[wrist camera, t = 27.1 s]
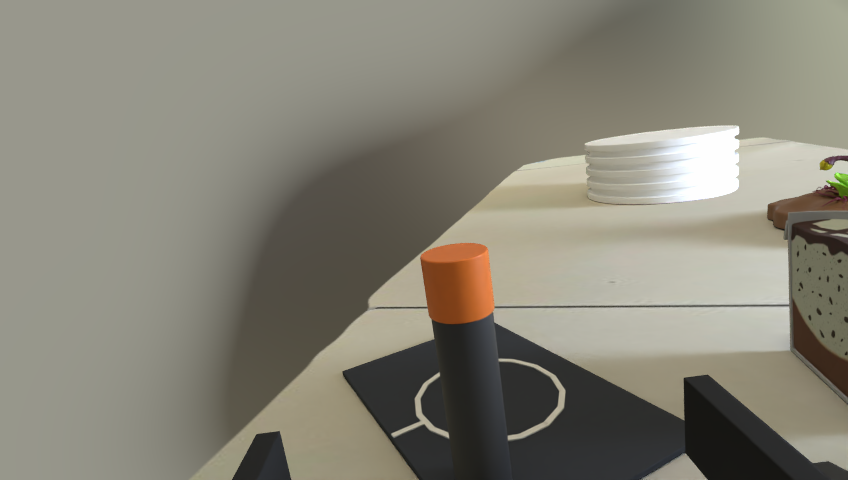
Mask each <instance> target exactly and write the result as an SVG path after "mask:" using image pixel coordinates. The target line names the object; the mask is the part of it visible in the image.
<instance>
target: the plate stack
mask: <svg viewBox="0 0 848 480" xmlns="http://www.w3.org/2000/svg"><path fill="white" fill-rule="evenodd" d="M738 134H739V127H738V126H705V127H692V128H681V129H672V130H662V131H654V132H646V133H637V134H630V135H623V136H617V137H611V138H605V139H600V140H595V141H591V142H587V143H585V150H586V151H589V154H587V155H586V156H585V160H586V163H589V164H590V165H589V166H587V167H586V174H587V175H589V176H590V177H589V178H587V186H588V187H590V189H588V198H589V199H591V200H593V201H597V202H602V203H610V204H663V203H676V202H686V201H694V200H701V199H707V198H712V197H717V196H721V195H725V194H728V193H731V192H733V191H735V190H736V189H738V179H736V178H734V177H736V176H737V175H738V173H739V168H738V166H736V165H734V164H735V163H737V162H738V161H739V154H738V153H736V152H734V150H735V149H737V148H738V147H739V140H737V139H734V136H735V135H738Z"/></svg>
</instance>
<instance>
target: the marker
mask: <svg viewBox="0 0 848 480" xmlns="http://www.w3.org/2000/svg"><path fill="white" fill-rule="evenodd" d="M420 259H421V265H422V272H423V279H424V286H425V292H426V299H427V306H428V312H429V316H430V318H431V319H432V325H433V332H434V339H435V345H436V352H437V359H438V366H439V372H440V379H441V386H442V393H443V399H444V406H445V413H446V420H447V426H448V433H449V440H450V447H451V453H452V460H453V467H454V474H455V480H513V479H512V470H511V462H510V453H509V444H508V436H507V427H506V419H505V410H504V402H503V393H502V385H501V376H500V367H499V359H498V350H497V342H496V333H495V325H494V316H493V310H494V298H493V289H492V281H491V272H490V263H489V255H488V249H487V247H486V246H484V245H481V244H475V243H459V244H450V245H445V246H440V247H436V248H433V249H431V250H428V251H426V252H424V253H423V254H422V255H421V258H420Z"/></svg>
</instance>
